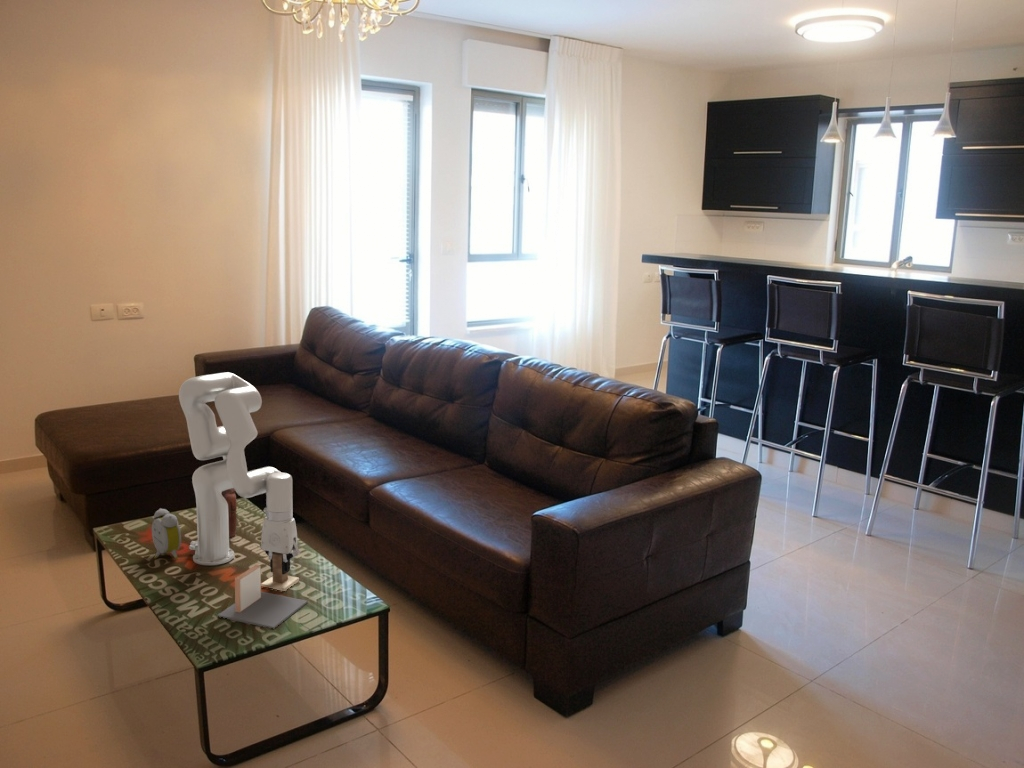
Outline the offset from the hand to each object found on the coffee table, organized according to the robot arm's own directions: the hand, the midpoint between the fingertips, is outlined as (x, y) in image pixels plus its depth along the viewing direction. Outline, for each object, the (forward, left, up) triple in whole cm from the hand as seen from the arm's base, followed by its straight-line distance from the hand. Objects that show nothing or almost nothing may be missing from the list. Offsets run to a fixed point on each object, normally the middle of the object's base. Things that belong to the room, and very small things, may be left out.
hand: (280, 571), depth 250 cm
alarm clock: (-45, +3, -5) cm, 45 cm away
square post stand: (0, 0, -4) cm, 4 cm away
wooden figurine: (-40, +28, -5) cm, 49 cm away
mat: (+5, -16, -4) cm, 17 cm away
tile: (0, -16, +1) cm, 16 cm away
